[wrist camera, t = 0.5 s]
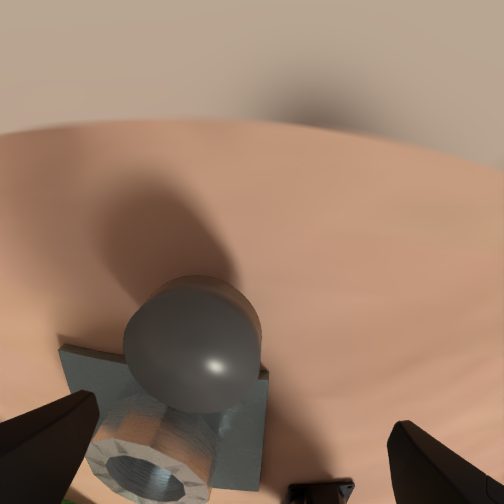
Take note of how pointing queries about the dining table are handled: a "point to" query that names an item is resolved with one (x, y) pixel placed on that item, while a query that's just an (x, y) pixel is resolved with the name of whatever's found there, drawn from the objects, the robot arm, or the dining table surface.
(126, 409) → the square base plate
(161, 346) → the dark grey rounded lump
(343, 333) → the dining table surface
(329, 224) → the dining table surface
